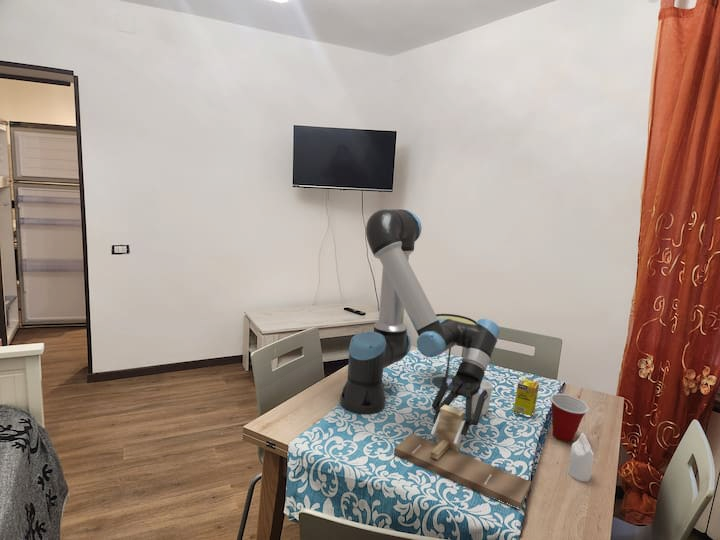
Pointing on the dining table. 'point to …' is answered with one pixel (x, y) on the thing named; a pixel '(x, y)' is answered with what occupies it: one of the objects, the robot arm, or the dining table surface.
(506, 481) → the walnut board
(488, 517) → the dining table surface
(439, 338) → the robot arm
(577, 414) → the plastic cup
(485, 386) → the white cup
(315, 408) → the dining table surface
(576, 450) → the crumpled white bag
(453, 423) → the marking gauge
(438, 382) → the cocktail glass
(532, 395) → the supplement box
